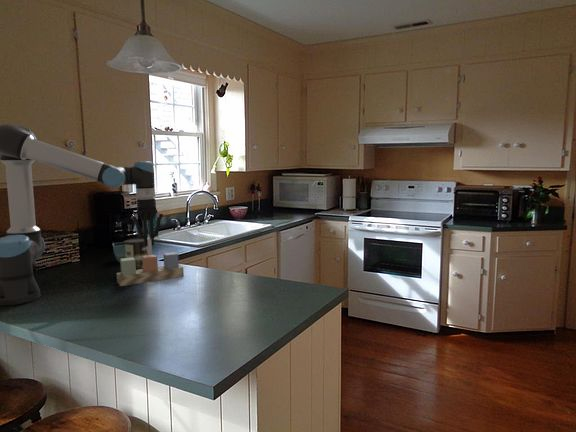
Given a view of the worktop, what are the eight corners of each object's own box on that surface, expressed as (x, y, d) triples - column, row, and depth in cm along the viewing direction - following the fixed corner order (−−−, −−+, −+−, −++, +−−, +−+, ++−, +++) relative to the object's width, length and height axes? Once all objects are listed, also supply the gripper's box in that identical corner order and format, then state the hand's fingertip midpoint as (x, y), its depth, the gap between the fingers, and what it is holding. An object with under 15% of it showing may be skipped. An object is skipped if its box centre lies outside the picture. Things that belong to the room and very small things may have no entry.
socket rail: (120, 286, 178) (119, 276, 178) (117, 282, 184) (116, 273, 184) (183, 276, 192) (183, 267, 191) (178, 272, 198) (178, 264, 197)
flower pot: (113, 260, 226) (112, 243, 225) (131, 258, 230) (130, 241, 229) (114, 263, 218) (113, 245, 217) (133, 261, 222) (132, 244, 221)
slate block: (167, 271, 189) (166, 255, 188) (164, 268, 193) (163, 253, 192) (178, 269, 192) (178, 253, 191) (175, 267, 196) (174, 251, 195)
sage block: (123, 277, 180) (122, 261, 179) (121, 275, 184) (120, 258, 183) (136, 275, 182) (135, 259, 181) (133, 273, 187) (132, 257, 186)
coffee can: (152, 267, 210) (150, 238, 208) (145, 272, 199) (143, 242, 198) (131, 267, 210) (129, 238, 208) (122, 273, 200) (120, 242, 198)
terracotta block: (146, 274, 184) (145, 258, 184) (143, 272, 189) (142, 256, 188) (158, 272, 187) (157, 256, 186) (155, 270, 191) (154, 254, 190)
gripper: (131, 200, 177) (135, 257, 180) (164, 197, 184) (167, 253, 187) (127, 198, 184) (131, 254, 187) (159, 196, 190) (162, 250, 193)
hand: (149, 253), depth 187 cm, fingers closed
